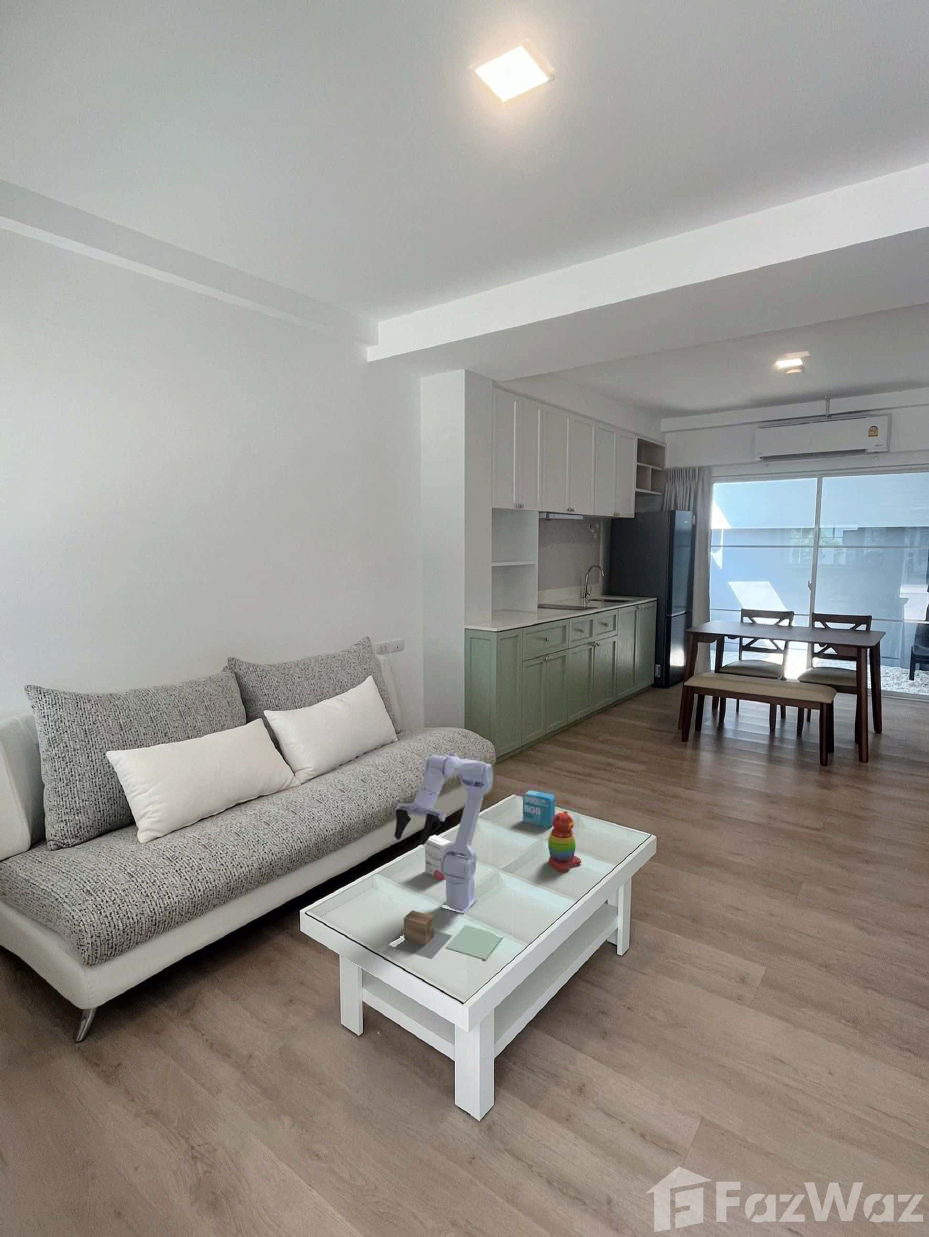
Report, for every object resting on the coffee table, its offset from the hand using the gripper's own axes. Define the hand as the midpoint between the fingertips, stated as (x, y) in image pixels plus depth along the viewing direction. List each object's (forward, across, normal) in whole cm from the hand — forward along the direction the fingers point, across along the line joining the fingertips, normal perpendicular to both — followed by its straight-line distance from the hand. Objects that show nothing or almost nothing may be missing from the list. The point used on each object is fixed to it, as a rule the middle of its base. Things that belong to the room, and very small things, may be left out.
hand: (408, 840), depth 174 cm
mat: (+12, +12, +33) cm, 37 cm away
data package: (-50, -1, +88) cm, 101 cm away
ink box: (-11, -16, +52) cm, 56 cm away
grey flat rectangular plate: (+16, -2, +28) cm, 33 cm away
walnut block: (+15, -2, +29) cm, 33 cm away
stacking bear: (-30, +19, +69) cm, 78 cm away
